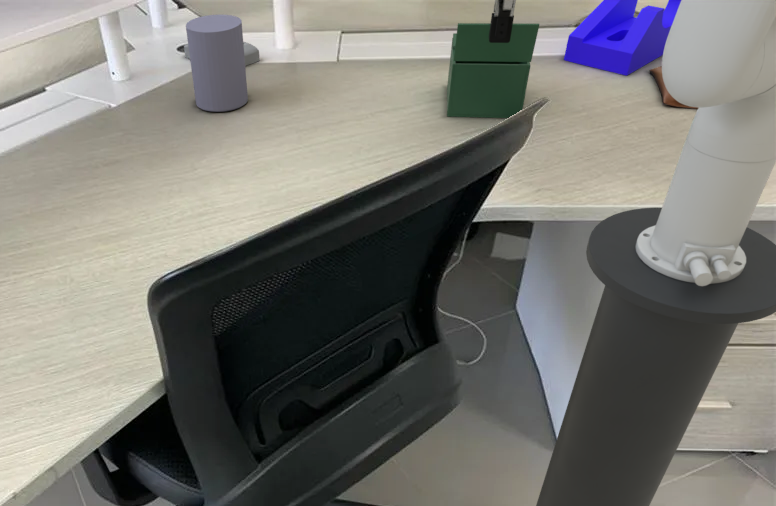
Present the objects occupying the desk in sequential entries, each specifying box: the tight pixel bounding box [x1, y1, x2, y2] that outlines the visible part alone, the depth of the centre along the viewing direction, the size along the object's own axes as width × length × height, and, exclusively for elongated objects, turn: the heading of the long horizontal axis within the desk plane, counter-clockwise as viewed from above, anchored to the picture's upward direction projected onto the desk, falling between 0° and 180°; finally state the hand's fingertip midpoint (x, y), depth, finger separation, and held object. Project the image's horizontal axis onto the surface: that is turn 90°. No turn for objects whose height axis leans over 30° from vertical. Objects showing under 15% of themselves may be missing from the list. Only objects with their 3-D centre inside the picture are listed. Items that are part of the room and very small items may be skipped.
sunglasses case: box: [649, 65, 699, 110], centre depth 131 cm, size 18×7×7 cm
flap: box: [453, 22, 540, 63], centre depth 118 cm, size 7×13×1 cm
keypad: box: [183, 41, 261, 67], centre depth 156 cm, size 10×4×15 cm
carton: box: [446, 32, 531, 119], centre depth 129 cm, size 14×13×10 cm
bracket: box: [563, 0, 681, 77], centre depth 144 cm, size 21×14×10 cm, turn 132°
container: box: [185, 14, 249, 113], centre depth 134 cm, size 10×10×15 cm
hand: (498, 40), depth 111 cm, fingers closed
